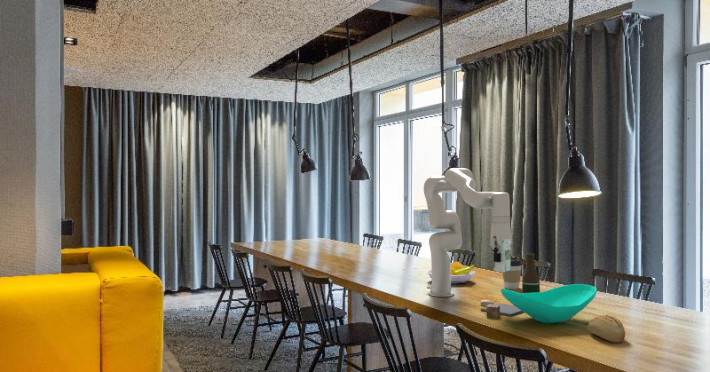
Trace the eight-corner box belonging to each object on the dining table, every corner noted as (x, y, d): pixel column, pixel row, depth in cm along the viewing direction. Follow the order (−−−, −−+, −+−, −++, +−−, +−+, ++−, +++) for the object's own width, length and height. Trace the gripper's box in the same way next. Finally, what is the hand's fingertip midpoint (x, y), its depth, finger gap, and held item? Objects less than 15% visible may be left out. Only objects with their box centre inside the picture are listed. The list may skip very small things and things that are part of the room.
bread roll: (602, 332, 209) (602, 310, 209) (633, 342, 194) (633, 319, 194) (581, 334, 206) (581, 312, 206) (611, 345, 192) (610, 322, 191)
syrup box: (498, 269, 249) (498, 237, 249) (511, 270, 245) (510, 238, 245) (493, 271, 245) (492, 238, 245) (505, 272, 241) (504, 239, 241)
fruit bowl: (418, 280, 323) (418, 261, 323) (457, 276, 335) (457, 257, 335) (446, 288, 298) (446, 267, 298) (487, 283, 309) (486, 263, 309)
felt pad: (480, 310, 246) (480, 308, 246) (499, 305, 256) (499, 303, 256) (510, 316, 234) (510, 314, 234) (529, 310, 244) (529, 308, 244)
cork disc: (477, 305, 257) (477, 301, 257) (485, 303, 261) (485, 299, 261) (489, 307, 252) (489, 303, 252) (496, 305, 256) (496, 301, 256)
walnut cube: (486, 317, 235) (486, 306, 235) (489, 314, 239) (489, 304, 238) (497, 318, 232) (497, 307, 232) (499, 315, 236) (499, 305, 236)
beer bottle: (528, 308, 247) (527, 254, 247) (518, 305, 255) (518, 252, 255) (543, 307, 249) (543, 254, 249) (533, 304, 257) (533, 252, 257)
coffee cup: (525, 289, 290) (525, 261, 290) (503, 290, 290) (503, 261, 290) (519, 285, 301) (519, 258, 301) (498, 286, 302) (498, 258, 302)
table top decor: (521, 333, 208) (520, 298, 208) (488, 316, 235) (487, 285, 235) (615, 326, 216) (614, 292, 216) (572, 310, 243) (572, 280, 243)
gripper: (504, 219, 254) (505, 258, 254) (482, 221, 242) (483, 262, 242) (519, 219, 248) (520, 259, 248) (497, 221, 237) (497, 264, 237)
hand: (502, 260), depth 245 cm, fingers closed on syrup box, 6 cm apart
